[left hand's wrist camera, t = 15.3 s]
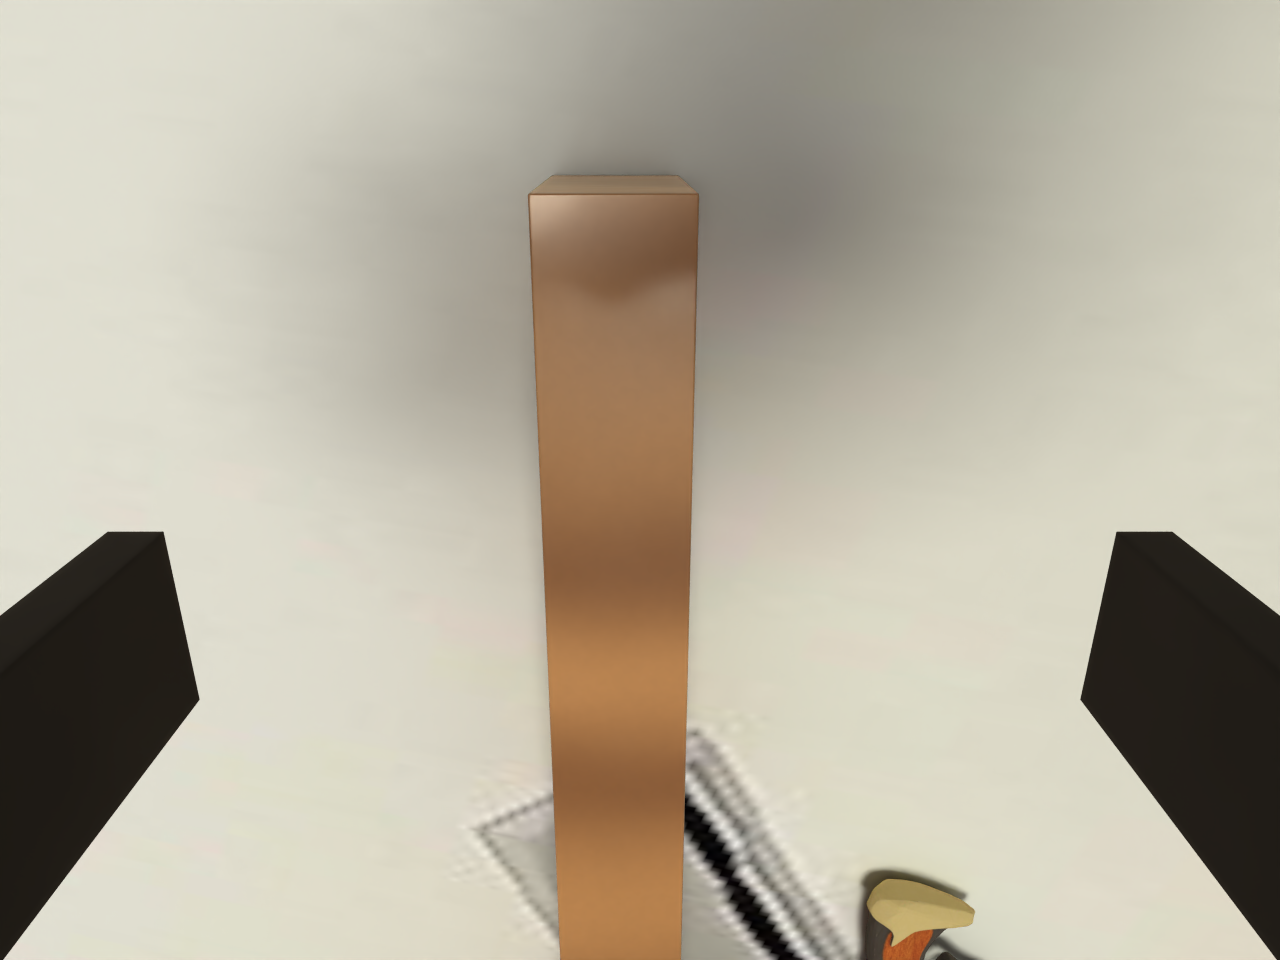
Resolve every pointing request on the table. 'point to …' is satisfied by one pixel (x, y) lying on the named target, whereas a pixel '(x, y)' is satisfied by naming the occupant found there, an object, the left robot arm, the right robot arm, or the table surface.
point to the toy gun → (910, 919)
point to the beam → (616, 545)
